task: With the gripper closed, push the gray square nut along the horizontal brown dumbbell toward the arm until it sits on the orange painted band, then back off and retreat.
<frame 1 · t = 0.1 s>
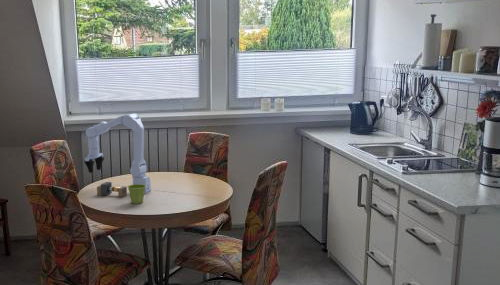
hand: (94, 171, 302), 10 cm above the table, fingers open, 7 cm apart
plant pot: (137, 202, 276), on the table
gray square nut: (106, 188, 290), point 3 cm above the table, slide at 0.0 cm
brown dumbbell: (112, 194, 290), on the table
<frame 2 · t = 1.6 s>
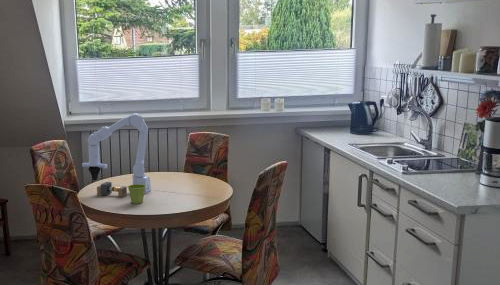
hand: (95, 180, 291), 8 cm above the table, fingers closed
nothing on the table moved.
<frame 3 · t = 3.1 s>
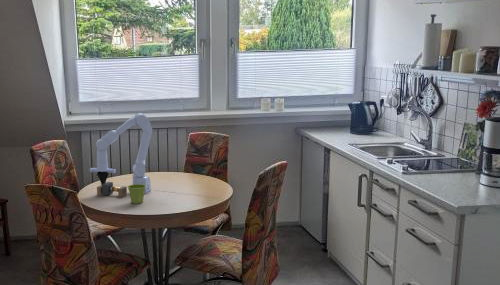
hand: (103, 185, 290), 5 cm above the table, fingers closed
gray square nut: (107, 188, 290), point 3 cm above the table, slide at 0.8 cm, touching gripper
everything else where it was.
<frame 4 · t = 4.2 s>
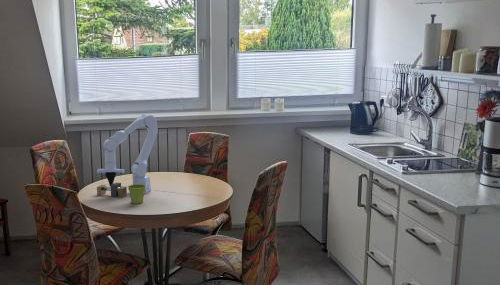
hand: (111, 185, 289), 5 cm above the table, fingers closed
gray square nut: (116, 189, 288), point 3 cm above the table, slide at 5.9 cm, touching gripper
everything else where it was.
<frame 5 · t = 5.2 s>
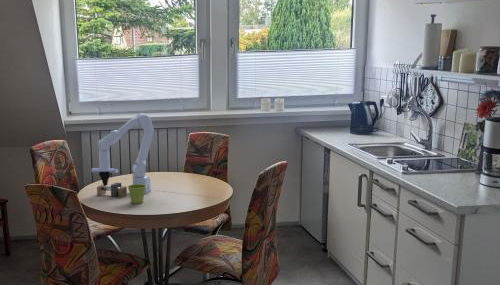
hand: (105, 185, 290), 5 cm above the table, fingers closed
gray square nut: (116, 189, 288), point 3 cm above the table, slide at 6.0 cm
everything else where it was.
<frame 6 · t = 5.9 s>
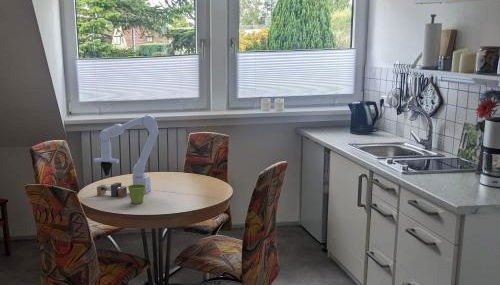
hand: (107, 175, 293), 10 cm above the table, fingers closed
nothing on the table moved.
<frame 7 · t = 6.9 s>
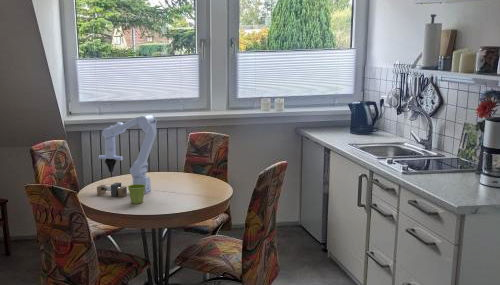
hand: (111, 171, 301), 10 cm above the table, fingers closed
nothing on the table moved.
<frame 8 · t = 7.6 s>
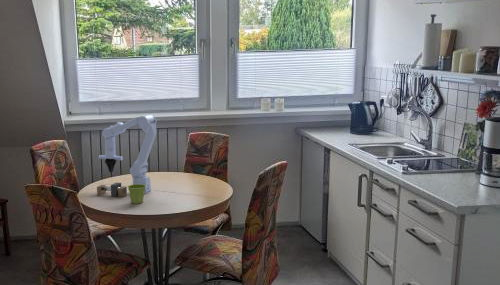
hand: (111, 171, 301), 10 cm above the table, fingers closed
nothing on the table moved.
at the end: gray square nut slide at 6.0 cm; gray square nut touching nothing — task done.
